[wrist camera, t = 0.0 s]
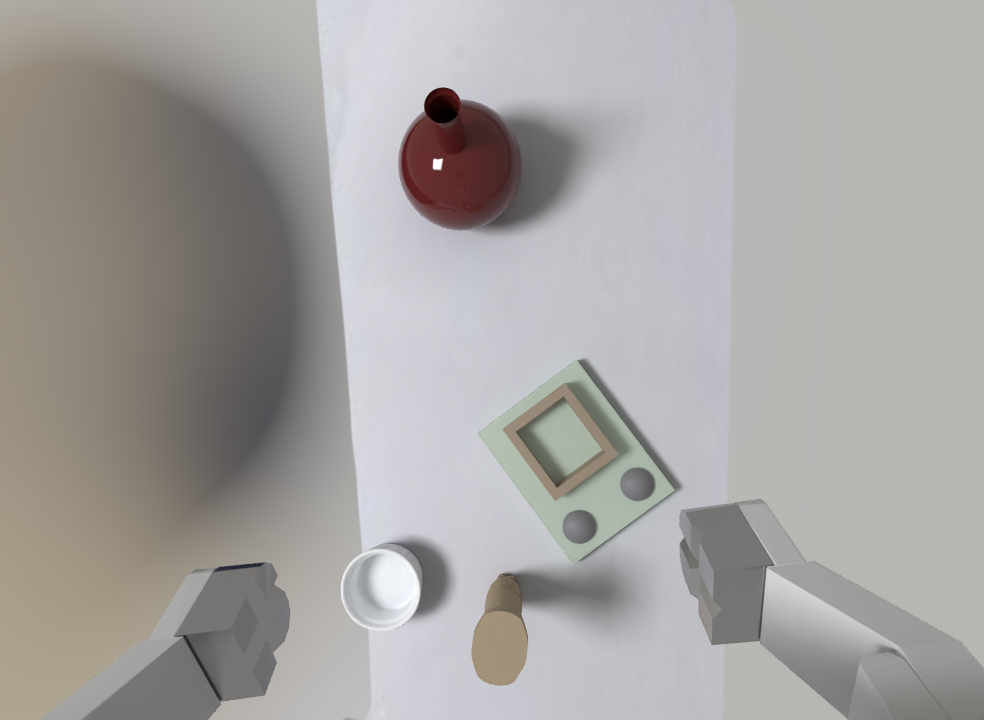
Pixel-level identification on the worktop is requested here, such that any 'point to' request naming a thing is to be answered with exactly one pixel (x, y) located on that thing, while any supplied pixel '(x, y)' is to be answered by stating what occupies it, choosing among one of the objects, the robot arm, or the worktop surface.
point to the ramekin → (382, 587)
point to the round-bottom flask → (459, 162)
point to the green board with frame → (575, 462)
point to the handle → (500, 634)
